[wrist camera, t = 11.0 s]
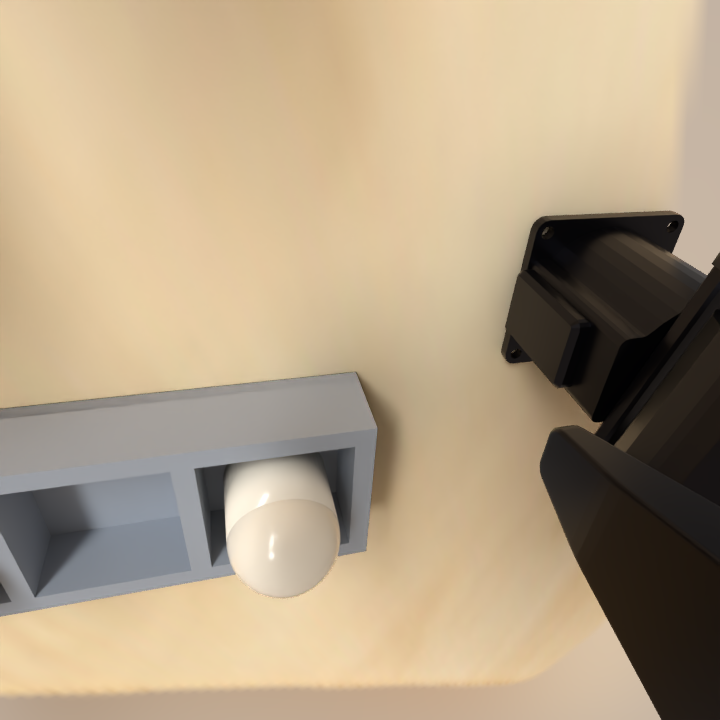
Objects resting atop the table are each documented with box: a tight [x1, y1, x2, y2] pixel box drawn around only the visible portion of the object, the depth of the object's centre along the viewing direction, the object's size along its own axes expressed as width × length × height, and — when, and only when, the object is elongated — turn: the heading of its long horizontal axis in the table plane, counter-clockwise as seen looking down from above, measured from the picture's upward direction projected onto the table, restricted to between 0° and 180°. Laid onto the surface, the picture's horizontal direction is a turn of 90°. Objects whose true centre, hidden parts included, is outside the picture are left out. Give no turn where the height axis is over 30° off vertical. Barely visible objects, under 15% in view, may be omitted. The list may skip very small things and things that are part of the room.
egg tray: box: [0, 372, 378, 617], centre depth 21 cm, size 21×7×4 cm, turn 87°
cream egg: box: [223, 452, 340, 599], centre depth 21 cm, size 4×4×6 cm
